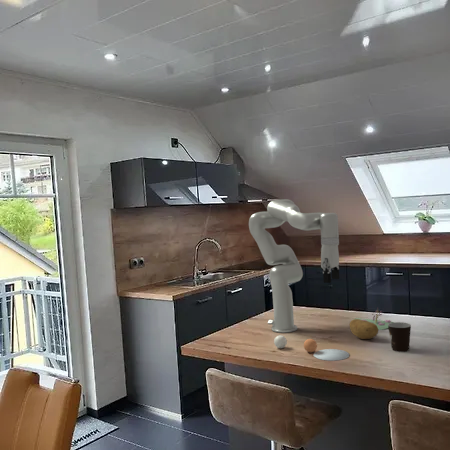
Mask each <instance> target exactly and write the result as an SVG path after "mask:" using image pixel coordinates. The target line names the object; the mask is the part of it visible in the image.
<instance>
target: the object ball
mask: <svg viewBox="0 0 450 450" xmlns="http://www.w3.org/2000/svg"><path fill="white" fill-rule="evenodd" d="M317 348H318V344H317V341H316V340H314V339H313V338H308V339H306V340H305V341H304V342H303V349H304V350H305V351H306V352H307V353H315V352H316V350H317Z"/></svg>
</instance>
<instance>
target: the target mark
mask: <svg viewBox="0 0 450 450" xmlns="http://www.w3.org/2000/svg"><path fill="white" fill-rule="evenodd" d="M313 357H314V358H316V359H318V360H321V361H328V362H329V361H330V362H333V361H334V362H335V361H342V360H346V359H348V358H349V357H350V353H349V352H348V351H347V350H343V349H335V348H327V349H321V350H320V349H319V350H317V351H314V352H313Z"/></svg>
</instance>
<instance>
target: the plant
mask: <svg viewBox="0 0 450 450" xmlns="http://www.w3.org/2000/svg"><path fill="white" fill-rule="evenodd" d="M378 310H379V307H377V309H376V310H375V313H374V312H372V313H371V315H372V316H373V317H372V319H371V318H370V319H369V318H359V317H358V318H357V317H356V318H354V319H360V320H365V321H368V322H371V323H374V324H375V325H376V326H377V327H378V331H381V330H382V331H383V330H386V329H389V328H388V324H389V323H394V322H393V321H392V320H391V319H385V320H381V319H379V317H381V316H382V315H383V311H378ZM374 314H375V315H374ZM354 319H352V320H354Z"/></svg>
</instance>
